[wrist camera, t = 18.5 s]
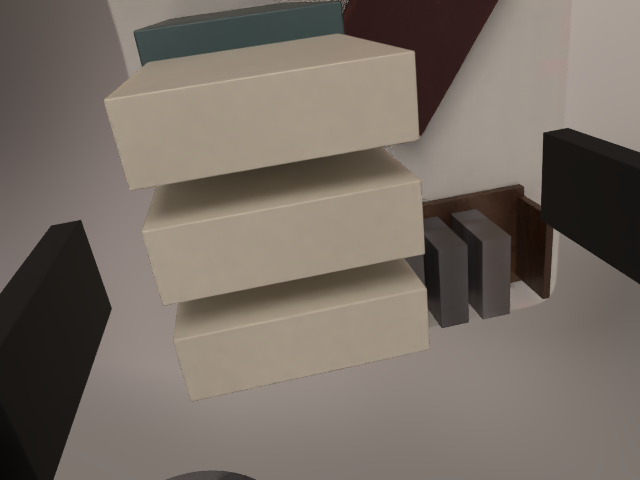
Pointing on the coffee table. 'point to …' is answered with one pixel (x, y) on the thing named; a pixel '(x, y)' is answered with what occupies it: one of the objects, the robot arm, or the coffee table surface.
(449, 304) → the brown rack
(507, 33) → the coffee table surface
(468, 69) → the coffee table surface
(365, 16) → the book
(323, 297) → the teal stand with panels
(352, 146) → the beige rectangular block
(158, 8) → the coffee table surface
